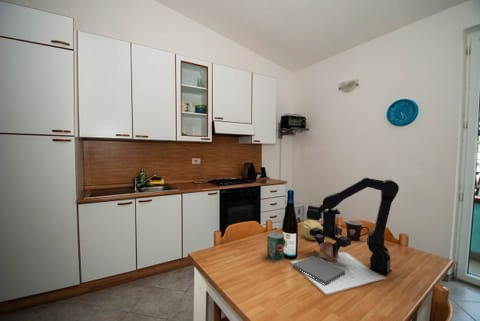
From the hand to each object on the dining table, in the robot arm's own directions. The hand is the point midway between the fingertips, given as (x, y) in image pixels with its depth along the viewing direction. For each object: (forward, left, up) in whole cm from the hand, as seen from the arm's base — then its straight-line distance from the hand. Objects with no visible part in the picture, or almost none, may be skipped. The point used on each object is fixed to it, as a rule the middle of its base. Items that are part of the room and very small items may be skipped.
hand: (328, 254), depth 102 cm
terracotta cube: (0, 0, -1) cm, 1 cm away
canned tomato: (+15, +21, -2) cm, 26 cm away
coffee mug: (+4, -34, -2) cm, 34 cm away
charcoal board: (-4, +14, -2) cm, 15 cm away
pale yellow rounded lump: (+20, -15, -2) cm, 25 cm away
